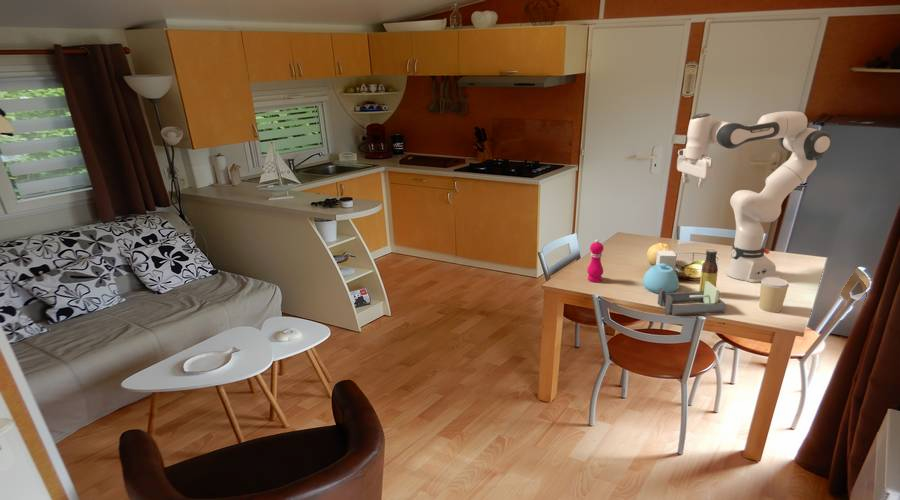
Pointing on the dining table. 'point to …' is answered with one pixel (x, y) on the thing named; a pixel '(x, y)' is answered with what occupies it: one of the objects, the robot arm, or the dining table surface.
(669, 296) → the gray storage tray
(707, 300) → the pusher
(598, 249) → the pepper mill
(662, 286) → the blue upside-down bowl
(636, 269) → the dining table surface
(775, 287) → the coffee cup
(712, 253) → the sauce bottle
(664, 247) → the sculpture
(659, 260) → the supplement box
